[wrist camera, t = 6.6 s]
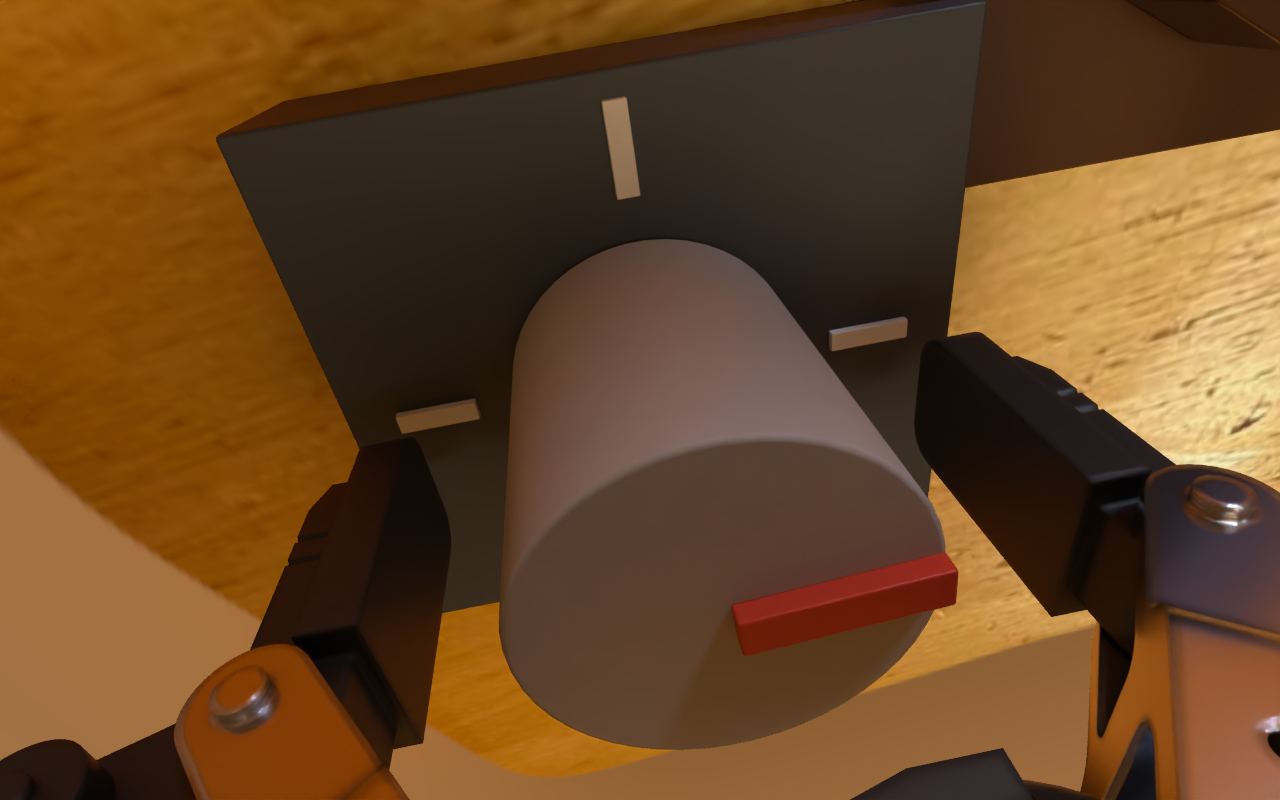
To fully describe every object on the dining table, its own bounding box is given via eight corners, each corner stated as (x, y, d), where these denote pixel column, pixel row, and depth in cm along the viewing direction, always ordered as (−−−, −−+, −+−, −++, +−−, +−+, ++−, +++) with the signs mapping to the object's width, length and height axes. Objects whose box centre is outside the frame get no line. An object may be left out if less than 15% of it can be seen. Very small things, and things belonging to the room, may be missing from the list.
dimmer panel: (450, 521, 17) (435, 621, 15) (280, 101, 12) (206, 139, 9) (870, 438, 18) (930, 521, 15) (895, -7, 12) (995, 0, 9)
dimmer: (557, 509, 13) (569, 812, 9) (472, 280, 11) (420, 535, 6) (801, 448, 13) (952, 718, 9) (778, 204, 11) (979, 396, 6)
